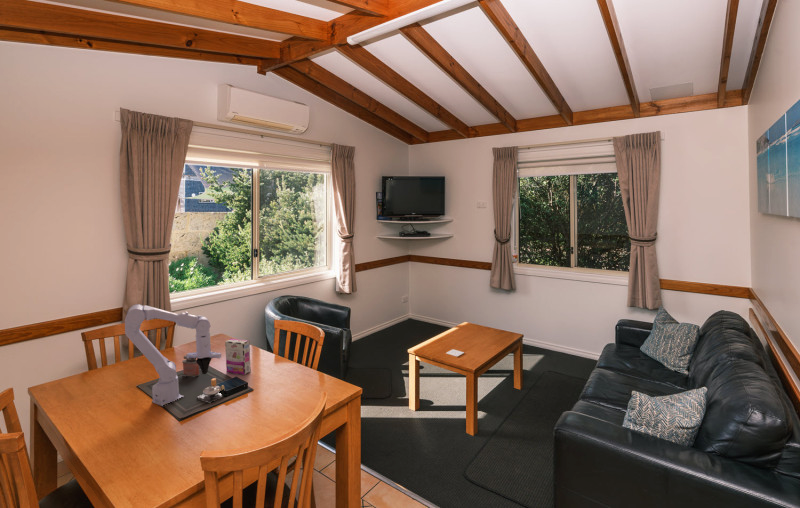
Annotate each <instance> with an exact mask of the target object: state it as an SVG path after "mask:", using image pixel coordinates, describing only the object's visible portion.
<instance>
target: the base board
mask: <svg viewBox="0 0 800 508" xmlns="http://www.w3.org/2000/svg"><path fill="white" fill-rule="evenodd" d="M220 387H221V391H222V390H223V389H224V390H225V385H224V384H222V385H221V386H220ZM222 396H223V395H222V394H221V393H217V394H214V395H204V394H200V395H198V396H196V399H197V398H198V399H201V400H204V401H208V402H212V401H214V400H216V399H218V398H220V397H222ZM198 399H197V400H198ZM201 400H200V401H201ZM204 401H203V402H204Z"/></svg>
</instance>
